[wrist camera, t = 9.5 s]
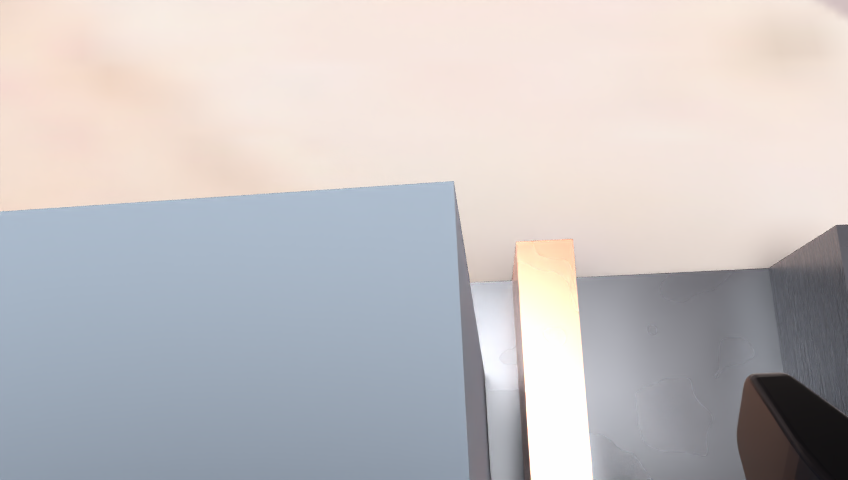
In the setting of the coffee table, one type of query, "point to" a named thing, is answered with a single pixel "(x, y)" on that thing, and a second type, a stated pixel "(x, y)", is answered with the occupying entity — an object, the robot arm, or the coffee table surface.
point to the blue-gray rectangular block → (242, 339)
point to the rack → (650, 360)
